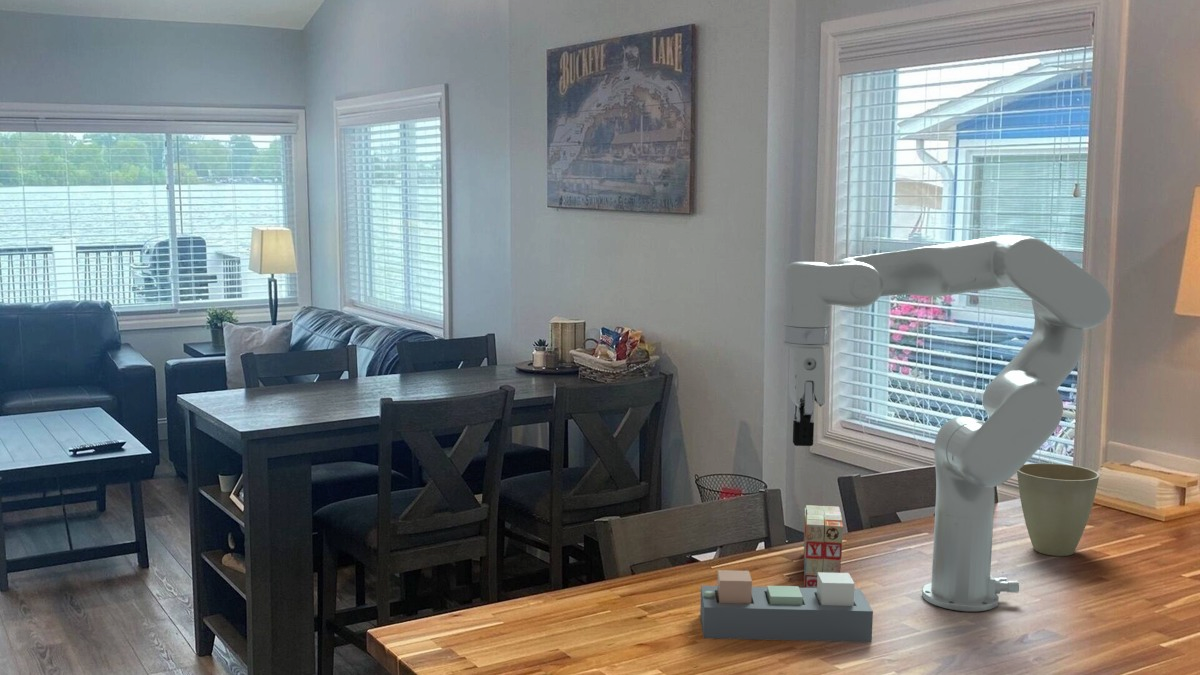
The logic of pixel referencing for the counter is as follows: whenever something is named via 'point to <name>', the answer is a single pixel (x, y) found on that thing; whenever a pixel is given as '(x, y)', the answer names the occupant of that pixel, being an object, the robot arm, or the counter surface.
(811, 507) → the stack of blocks
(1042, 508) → the plant pot
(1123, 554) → the counter surface
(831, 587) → the key cream
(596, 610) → the counter surface
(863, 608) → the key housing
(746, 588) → the beige cube
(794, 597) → the key sage
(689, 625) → the counter surface
